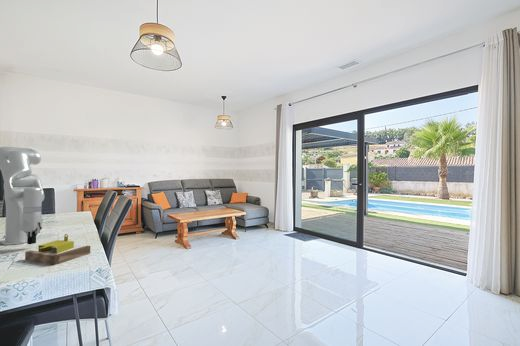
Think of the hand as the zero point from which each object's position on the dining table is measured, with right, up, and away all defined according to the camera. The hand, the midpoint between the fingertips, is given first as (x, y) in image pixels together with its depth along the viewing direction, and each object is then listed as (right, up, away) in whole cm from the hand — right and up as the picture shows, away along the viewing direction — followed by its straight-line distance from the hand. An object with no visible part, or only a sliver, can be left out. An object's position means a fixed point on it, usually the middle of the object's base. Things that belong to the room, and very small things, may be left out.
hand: (31, 243), depth 136 cm
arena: (+24, -3, -12) cm, 27 cm away
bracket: (+15, -4, -3) cm, 16 cm away
